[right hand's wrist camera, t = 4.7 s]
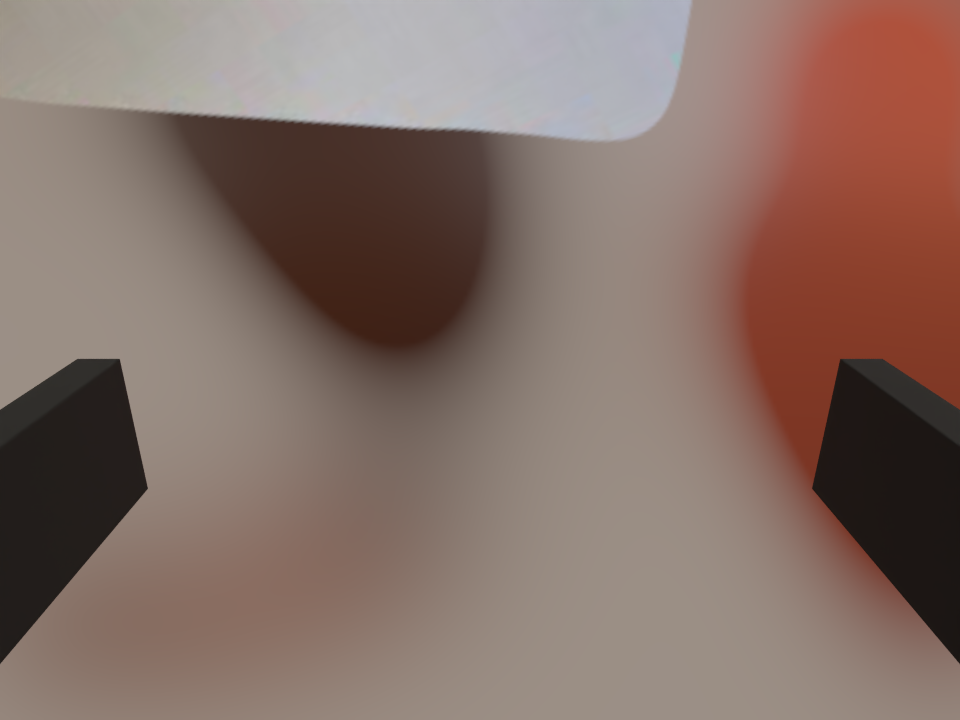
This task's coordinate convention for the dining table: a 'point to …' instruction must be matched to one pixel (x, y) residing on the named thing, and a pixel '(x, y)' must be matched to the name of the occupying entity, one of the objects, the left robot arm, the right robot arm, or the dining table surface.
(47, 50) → the dining table surface
